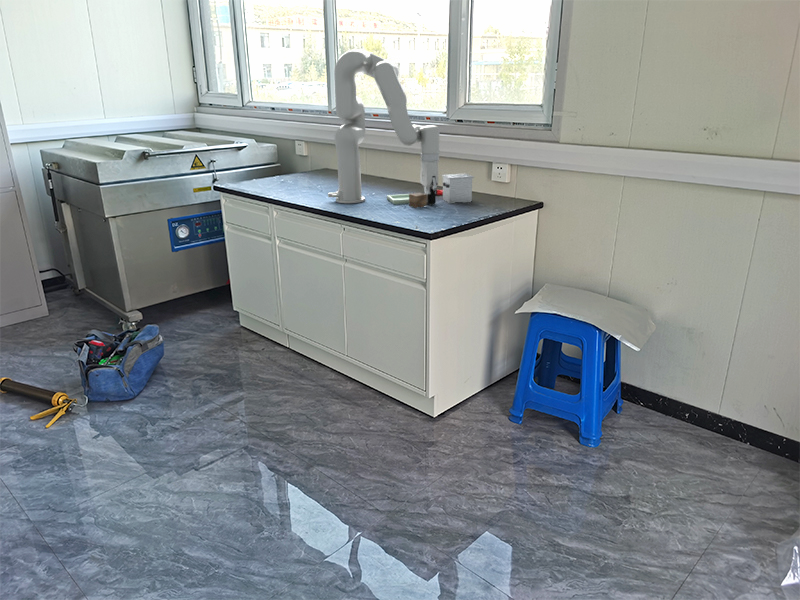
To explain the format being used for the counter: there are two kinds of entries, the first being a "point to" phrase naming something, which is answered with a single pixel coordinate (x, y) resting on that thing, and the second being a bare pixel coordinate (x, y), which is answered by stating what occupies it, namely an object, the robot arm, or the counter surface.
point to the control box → (457, 187)
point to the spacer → (426, 195)
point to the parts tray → (398, 198)
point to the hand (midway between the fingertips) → (429, 201)
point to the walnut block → (417, 200)
